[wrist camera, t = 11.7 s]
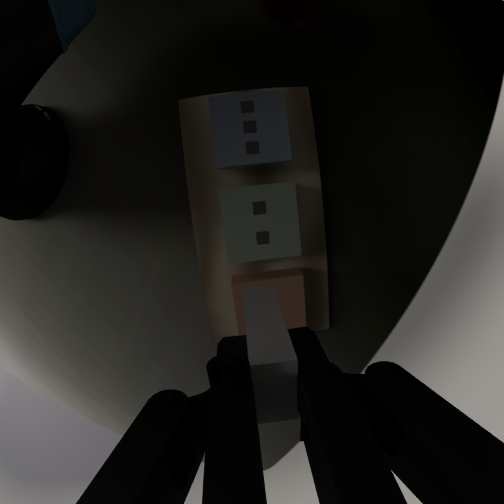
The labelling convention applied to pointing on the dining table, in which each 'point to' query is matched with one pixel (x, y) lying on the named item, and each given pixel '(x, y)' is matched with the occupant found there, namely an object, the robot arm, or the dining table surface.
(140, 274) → the dining table surface
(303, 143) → the board
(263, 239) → the tile
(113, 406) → the dining table surface
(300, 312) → the tile
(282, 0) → the mug
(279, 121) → the tile
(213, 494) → the robot arm
